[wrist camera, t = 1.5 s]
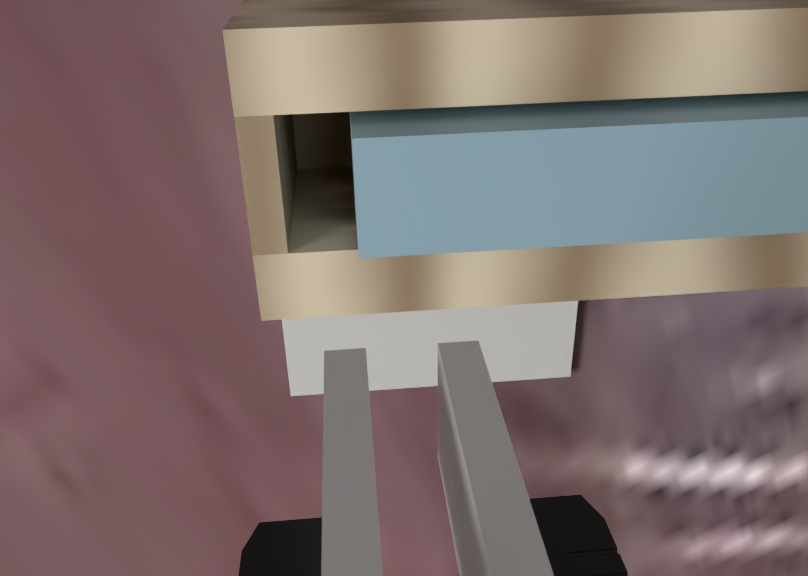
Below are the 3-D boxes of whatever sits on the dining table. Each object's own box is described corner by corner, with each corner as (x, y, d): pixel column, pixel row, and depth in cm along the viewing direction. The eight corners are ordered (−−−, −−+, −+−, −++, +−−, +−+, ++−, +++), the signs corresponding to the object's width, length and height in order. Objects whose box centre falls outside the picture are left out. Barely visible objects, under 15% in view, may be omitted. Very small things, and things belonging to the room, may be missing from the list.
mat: (275, 254, 36) (274, 260, 35) (580, 237, 37) (584, 242, 36) (291, 389, 40) (290, 396, 39) (567, 370, 41) (570, 376, 40)
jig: (802, -31, 32) (969, 1, 23) (754, 190, 37) (879, 281, 28) (251, -12, 30) (222, 29, 22) (277, 216, 35) (261, 320, 27)
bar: (826, 82, 27) (900, 112, 23) (800, 186, 29) (865, 228, 25) (349, 103, 26) (352, 138, 22) (355, 210, 28) (359, 258, 24)
